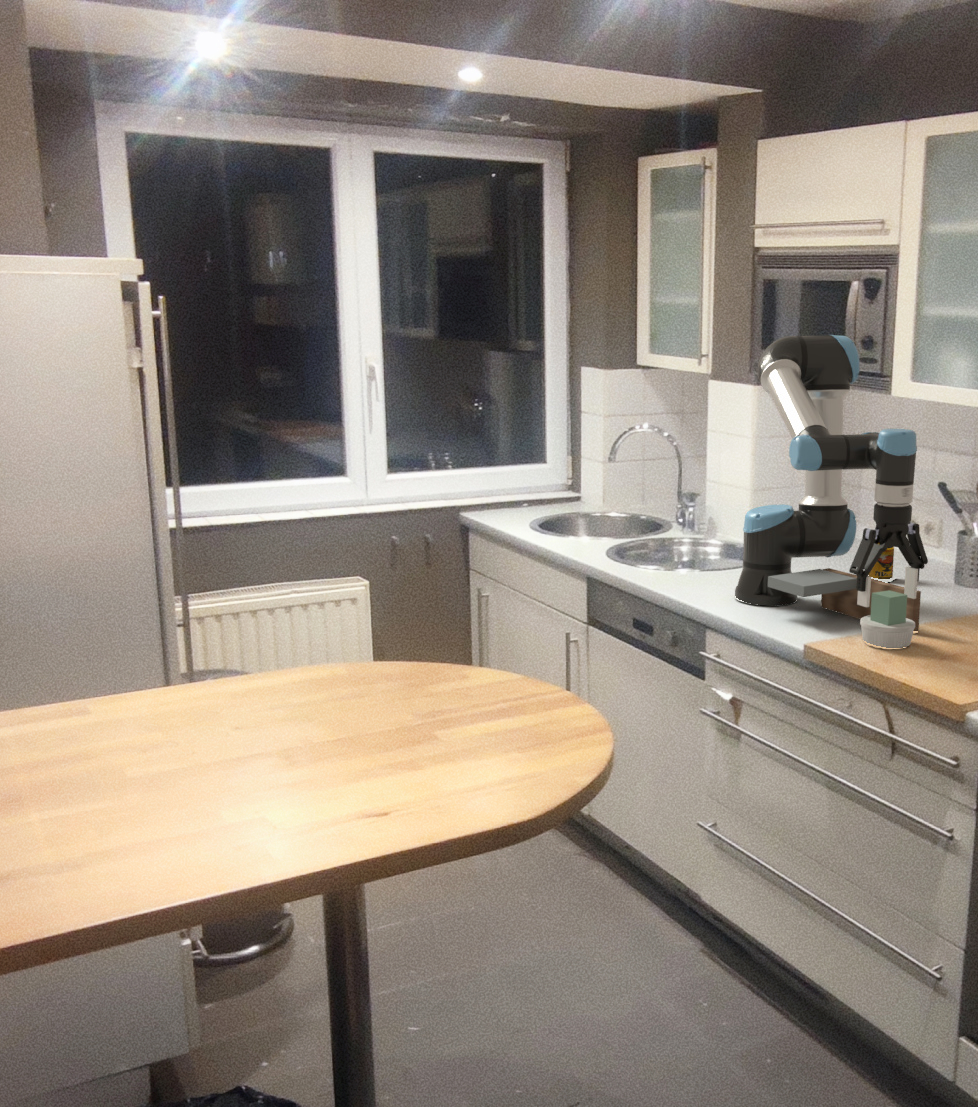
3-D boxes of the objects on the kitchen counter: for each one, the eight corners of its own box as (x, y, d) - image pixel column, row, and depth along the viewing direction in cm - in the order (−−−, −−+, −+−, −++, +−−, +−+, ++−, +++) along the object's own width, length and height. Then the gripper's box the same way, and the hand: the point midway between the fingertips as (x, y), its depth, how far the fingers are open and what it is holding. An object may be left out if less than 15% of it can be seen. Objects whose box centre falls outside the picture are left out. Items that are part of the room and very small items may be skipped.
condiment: (886, 584, 291) (889, 539, 289) (856, 579, 297) (858, 535, 294) (898, 579, 296) (901, 535, 294) (868, 575, 302) (870, 531, 299)
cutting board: (820, 607, 268) (822, 569, 266) (827, 606, 269) (828, 568, 267) (911, 634, 244) (914, 592, 242) (918, 633, 245) (920, 591, 243)
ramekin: (898, 636, 243) (899, 612, 242) (924, 650, 232) (925, 626, 231) (849, 638, 242) (850, 615, 241) (874, 653, 231) (875, 629, 230)
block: (870, 620, 237) (871, 592, 236) (887, 617, 239) (889, 590, 238) (888, 625, 232) (889, 597, 231) (905, 622, 234) (907, 595, 233)
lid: (767, 586, 260) (768, 576, 260) (819, 578, 267) (819, 568, 267) (803, 597, 250) (803, 586, 249) (856, 588, 257) (856, 578, 256)
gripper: (862, 512, 223) (856, 613, 228) (950, 500, 234) (942, 597, 238) (835, 506, 229) (829, 605, 234) (921, 495, 240) (915, 590, 245)
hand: (886, 601), depth 236 cm, fingers open, 13 cm apart
